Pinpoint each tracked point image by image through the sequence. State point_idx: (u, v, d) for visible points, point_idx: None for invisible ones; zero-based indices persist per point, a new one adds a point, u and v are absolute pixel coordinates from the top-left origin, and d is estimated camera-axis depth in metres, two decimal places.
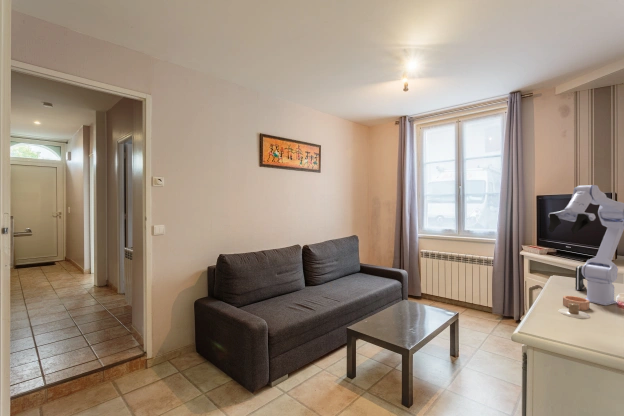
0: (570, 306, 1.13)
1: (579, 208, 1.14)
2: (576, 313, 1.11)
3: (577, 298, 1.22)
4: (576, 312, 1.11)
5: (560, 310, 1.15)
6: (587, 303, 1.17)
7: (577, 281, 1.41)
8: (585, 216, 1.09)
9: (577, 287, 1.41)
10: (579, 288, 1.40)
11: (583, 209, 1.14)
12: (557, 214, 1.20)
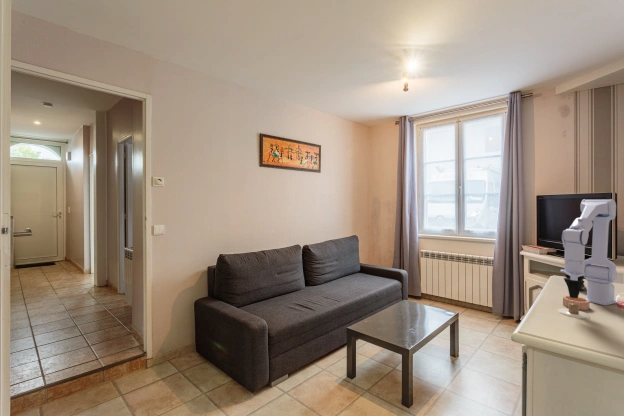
0: (570, 306, 1.13)
1: (568, 266, 1.12)
2: (576, 313, 1.11)
3: (577, 298, 1.22)
4: (576, 312, 1.11)
5: (560, 310, 1.15)
6: (587, 303, 1.17)
7: None
8: (566, 281, 1.09)
9: None
10: None
11: (573, 264, 1.10)
12: None
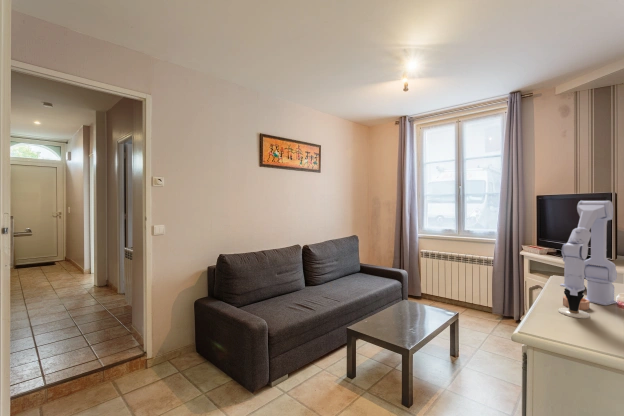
0: None
1: (568, 281, 1.12)
2: (576, 312, 1.11)
3: None
4: (576, 312, 1.11)
5: (560, 309, 1.15)
6: (587, 303, 1.17)
7: None
8: (566, 294, 1.11)
9: None
10: None
11: (573, 279, 1.11)
12: None
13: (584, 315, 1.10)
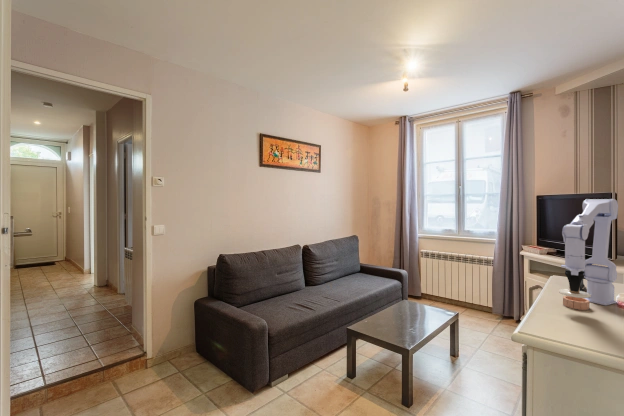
0: None
1: (569, 261, 1.13)
2: (577, 292, 1.12)
3: (577, 298, 1.22)
4: (577, 292, 1.12)
5: (561, 290, 1.16)
6: (587, 303, 1.17)
7: None
8: (567, 274, 1.12)
9: None
10: None
11: (574, 260, 1.12)
12: None
13: (585, 295, 1.11)
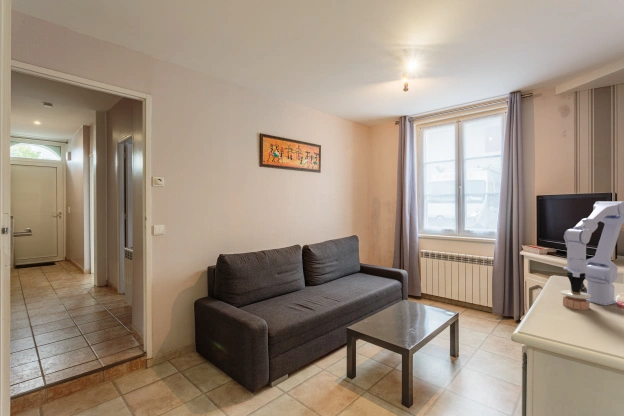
0: None
1: (571, 264, 1.19)
2: (578, 293, 1.19)
3: (577, 298, 1.22)
4: (578, 293, 1.19)
5: (563, 291, 1.23)
6: (587, 303, 1.17)
7: None
8: (569, 276, 1.19)
9: None
10: None
11: (575, 262, 1.18)
12: None
13: (586, 296, 1.17)
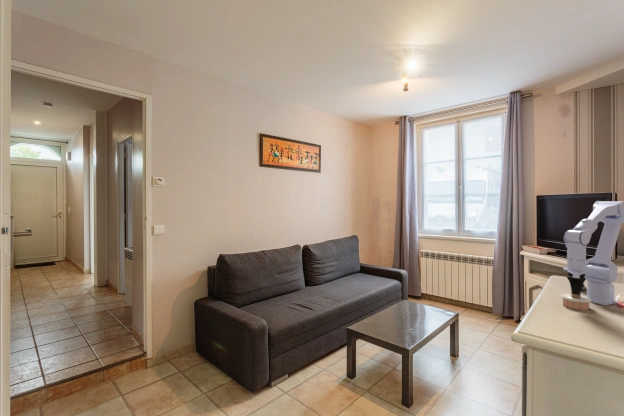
0: None
1: (571, 265, 1.19)
2: (578, 297, 1.19)
3: None
4: (578, 297, 1.19)
5: (563, 295, 1.23)
6: (587, 303, 1.17)
7: None
8: (569, 278, 1.17)
9: None
10: None
11: (575, 263, 1.18)
12: None
13: (585, 300, 1.17)
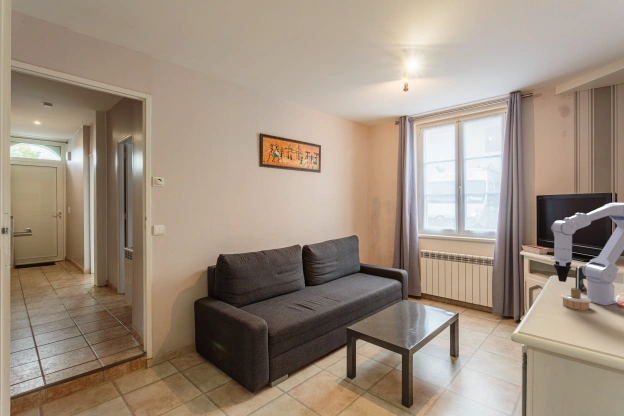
0: (572, 291, 1.20)
1: (557, 254, 1.25)
2: (578, 297, 1.19)
3: None
4: (578, 297, 1.19)
5: (563, 295, 1.23)
6: (587, 303, 1.17)
7: (577, 281, 1.41)
8: (556, 266, 1.23)
9: (577, 287, 1.41)
10: (579, 288, 1.40)
11: (562, 252, 1.24)
12: None
13: (585, 300, 1.17)
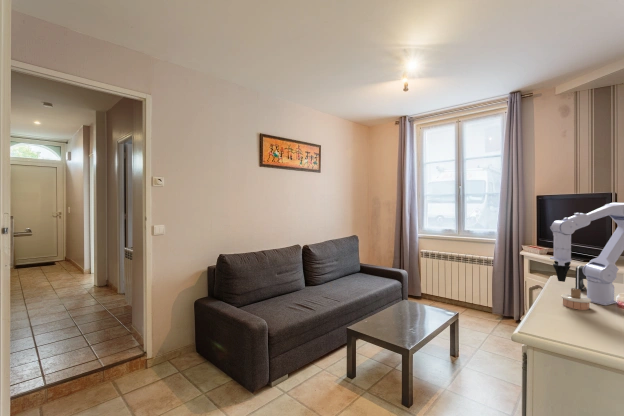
0: (572, 291, 1.20)
1: (557, 254, 1.26)
2: (578, 297, 1.19)
3: None
4: (578, 297, 1.19)
5: (563, 295, 1.23)
6: (587, 303, 1.17)
7: (577, 281, 1.41)
8: (555, 266, 1.23)
9: (577, 287, 1.41)
10: (579, 288, 1.40)
11: (561, 252, 1.24)
12: None
13: (585, 300, 1.17)
